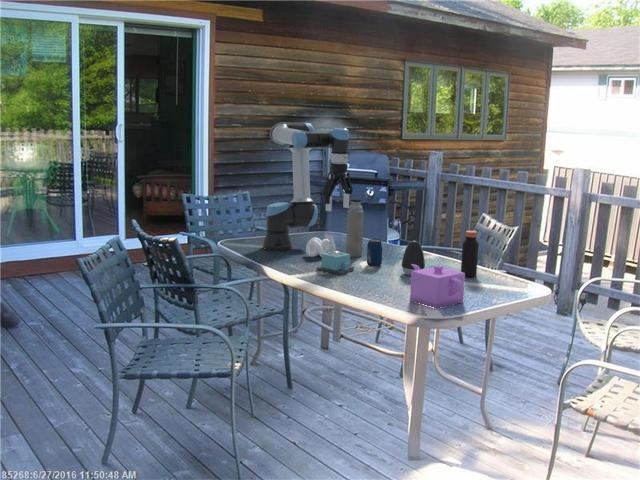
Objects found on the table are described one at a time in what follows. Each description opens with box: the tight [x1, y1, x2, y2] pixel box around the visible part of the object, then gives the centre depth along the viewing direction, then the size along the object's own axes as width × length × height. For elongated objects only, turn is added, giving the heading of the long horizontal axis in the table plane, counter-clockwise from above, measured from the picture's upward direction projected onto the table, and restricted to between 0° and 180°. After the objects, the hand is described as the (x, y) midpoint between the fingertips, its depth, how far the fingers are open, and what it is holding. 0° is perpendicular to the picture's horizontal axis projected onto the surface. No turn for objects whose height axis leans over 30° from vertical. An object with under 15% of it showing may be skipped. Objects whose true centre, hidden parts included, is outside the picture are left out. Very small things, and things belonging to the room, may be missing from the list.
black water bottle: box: [460, 230, 479, 279], centre depth 284 cm, size 7×7×20 cm
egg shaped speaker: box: [401, 240, 426, 277], centre depth 285 cm, size 10×10×15 cm
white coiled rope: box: [305, 236, 331, 258], centre depth 318 cm, size 11×12×9 cm
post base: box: [316, 250, 355, 276], centre depth 290 cm, size 12×12×8 cm
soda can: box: [366, 238, 383, 268], centre depth 301 cm, size 7×7×12 cm
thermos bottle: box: [345, 198, 364, 258], centre depth 321 cm, size 8×8×28 cm
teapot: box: [409, 264, 466, 309], centre depth 244 cm, size 15×25×14 cm, turn 39°
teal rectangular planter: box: [320, 251, 351, 270], centre depth 290 cm, size 14×9×6 cm, turn 45°
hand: (337, 209), depth 299 cm, fingers open, 13 cm apart
